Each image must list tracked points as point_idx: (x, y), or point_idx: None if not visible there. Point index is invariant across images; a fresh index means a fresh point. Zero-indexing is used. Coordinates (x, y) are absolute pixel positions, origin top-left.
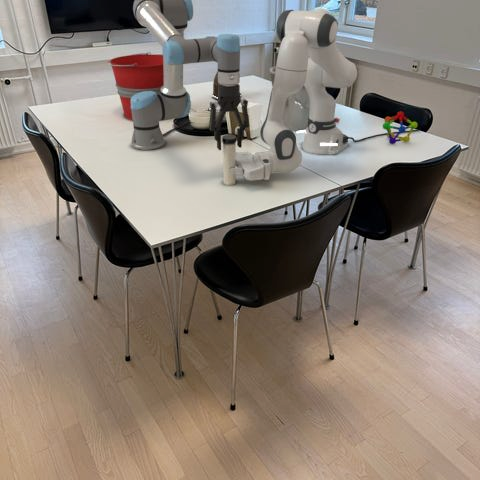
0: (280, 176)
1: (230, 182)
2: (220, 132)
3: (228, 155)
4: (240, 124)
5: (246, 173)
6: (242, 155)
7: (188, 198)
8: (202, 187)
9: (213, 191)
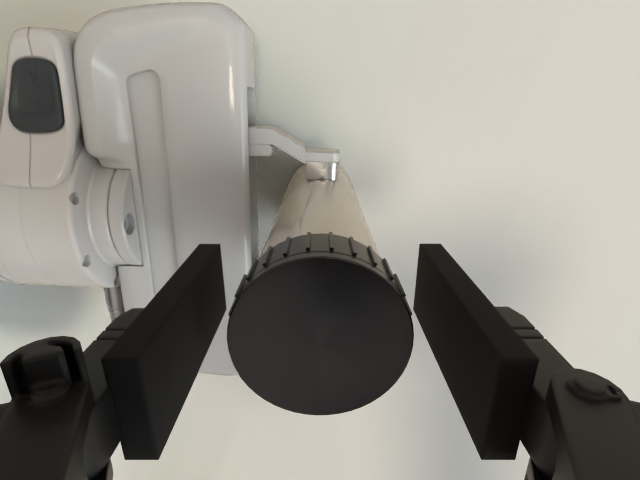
0: None
1: None
2: (503, 369)
3: (345, 208)
4: (49, 463)
5: (247, 29)
6: None
7: (601, 72)
8: (474, 182)
9: (441, 113)
